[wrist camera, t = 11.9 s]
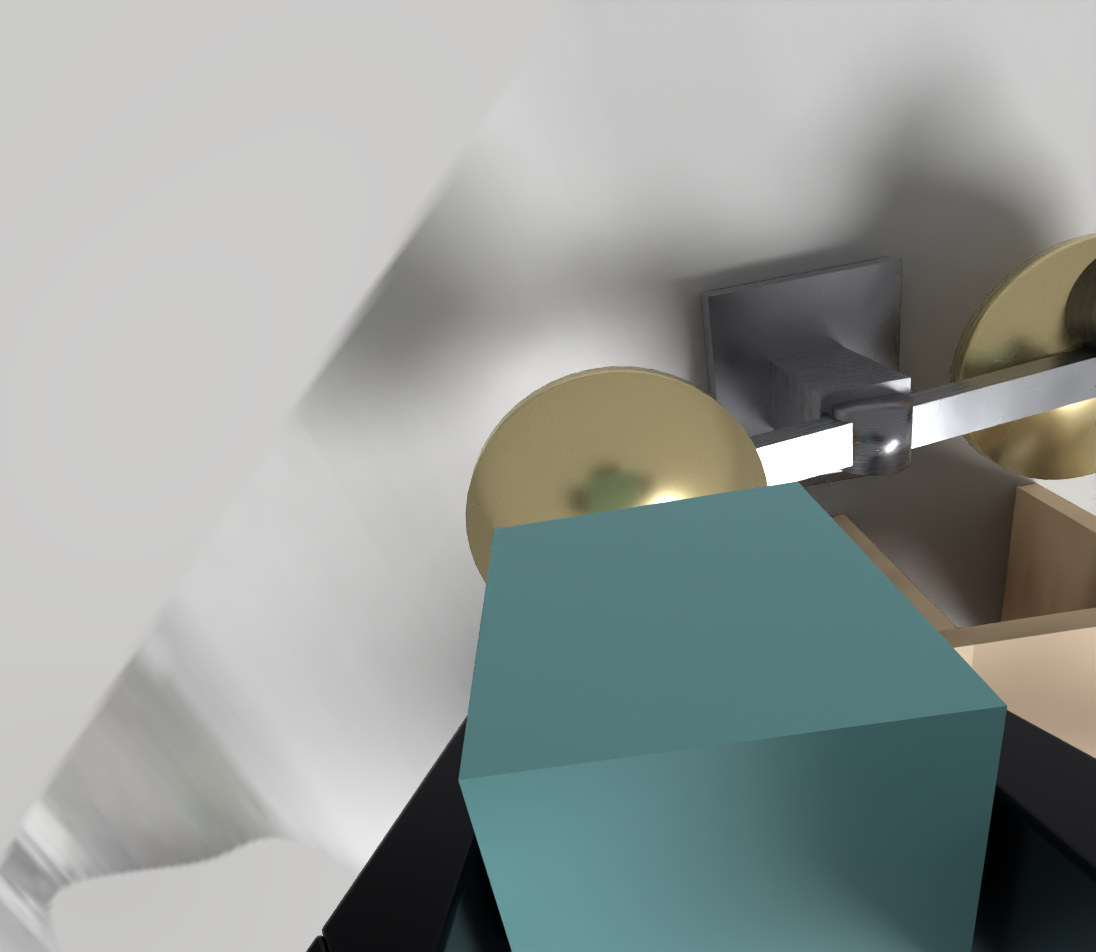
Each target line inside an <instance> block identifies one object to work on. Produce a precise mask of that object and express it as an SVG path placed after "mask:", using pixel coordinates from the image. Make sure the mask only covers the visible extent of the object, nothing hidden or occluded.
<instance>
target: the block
mask: <svg viewBox="0 0 1096 952" xmlns="http://www.w3.org/2000/svg"><path fill="white" fill-rule="evenodd" d="M1006 711H1007V705H1006V704H1005V703H1004V702H1003V700H1002V699H1001V698H1000V697H999V696H998V695H997V694H996V693H995V692H994V691H993V690H992V689H991V688H990V687H989V685H988V684H987V683H986V682H985V681H984V680H983V679H982V678H981V677H980V676H979V675H978V674H977V673H976V672H975V671H974V669H973V668H972V667H971V666H970V665H969V664H968V663H967V662H966V661H965V660H964V659H963V658H962V657H961V656H960V654H959V653H958V652H957V651H956V650H955V649H954V648H953V647H952V646H951V645H950V644H949V643H948V642H947V641H946V639H945V638H944V637H943V636H942V635H941V634H940V633H939V632H938V631H937V630H936V629H935V628H934V627H933V626H932V624H931V623H930V622H929V621H928V620H927V619H926V618H925V617H924V616H923V615H922V614H921V613H920V612H919V611H918V610H917V608H916V607H915V606H914V605H913V604H912V603H911V602H910V601H909V600H908V599H907V598H906V597H905V596H904V595H903V593H902V592H901V591H900V590H899V589H898V588H897V587H896V586H895V585H894V584H893V583H892V582H891V581H890V580H889V578H888V577H887V576H886V575H885V574H884V573H883V572H882V571H881V570H880V569H879V568H878V567H877V566H876V565H875V563H874V562H873V561H872V560H871V559H870V558H869V557H868V556H867V555H866V554H865V553H864V552H863V551H862V550H861V549H860V547H859V546H858V545H857V544H856V543H855V542H854V541H853V540H852V539H851V538H850V537H849V536H848V535H847V534H846V532H845V531H844V530H843V529H842V528H841V527H840V526H839V525H838V524H837V523H836V522H835V521H834V520H833V519H832V517H831V516H830V515H829V514H828V513H827V512H826V511H825V510H824V509H823V508H822V507H821V506H820V505H819V504H818V502H817V501H816V500H815V499H814V498H813V497H812V496H811V495H810V494H809V493H808V492H807V491H806V490H805V489H804V488H803V486H802V485H801V484H800V483H799V482H798V481H795V482H788V483H782V484H776V485H769V486H763V487H757V488H750V489H744V490H738V491H731V492H725V493H719V494H713V495H706V496H700V497H694V498H687V499H681V500H675V501H668V502H662V503H656V504H649V505H643V506H637V507H630V508H624V509H618V510H612V511H605V512H599V513H593V514H586V515H580V516H574V517H567V518H561V519H555V520H548V521H542V522H536V523H529V524H523V525H517V526H511V527H504V528H498V529H494V534H493V541H492V548H491V555H490V562H489V569H488V576H487V583H486V590H485V597H484V604H483V611H482V618H481V625H480V632H479V639H478V646H477V653H476V660H475V667H474V674H473V681H472V688H471V695H470V702H469V709H468V716H467V723H466V730H465V737H464V744H463V751H462V758H461V765H460V772H459V779H458V781H459V784H460V787H461V790H462V794H463V797H464V800H465V803H466V806H467V810H468V813H469V816H470V819H471V822H472V826H473V829H474V832H475V835H476V838H477V842H478V845H479V848H480V851H481V854H482V858H483V861H484V864H485V867H486V870H487V874H488V877H489V880H490V883H491V886H492V890H493V893H494V896H495V899H496V902H497V906H498V909H499V912H500V915H501V918H502V922H503V925H504V928H505V931H506V934H507V938H508V941H509V944H510V947H511V950H512V952H971V949H972V942H973V935H974V928H975V922H976V915H977V908H978V901H979V894H980V888H981V881H982V874H983V867H984V860H985V854H986V847H987V840H988V833H989V827H990V820H991V813H992V806H993V799H994V793H995V786H996V779H997V772H998V766H999V759H1000V752H1001V745H1002V738H1003V732H1004V725H1005V718H1006Z"/></svg>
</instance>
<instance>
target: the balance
mask: <svg viewBox="0 0 1096 952" xmlns="http://www.w3.org/2000/svg"><path fill="white" fill-rule="evenodd" d="M901 272H902V259H897V258H890V257H883V258H878V259H873V260H868V261H863V262H858V263H853V264H847V265H842V266H837V267H832V268H827V269H822V270H817V271H811V272H806V273H801V274H796V275H791V276H786V277H780V278H775V279H770V280H765V281H760V282H755V283H750V284H744V285H739V286H734V287H729V288H724V289H719V290H714V291H708V292H703V293H701V301H702V312H703V322H704V333H705V344H706V355H707V366H708V377H709V388H710V395H709V394H708V393H707V392H705V391H703V390H702V389H700V388H699V387H697V386H695V385H694V384H692V383H690V382H688V381H686V380H683V379H681V378H679V377H676V376H674V375H671V374H668V373H664V372H660V371H657V370H653V369H646V368H639V367H618V366H611V367H603V368H595V369H589V370H585V371H581V372H577V373H573V374H570V375H567V376H565V377H562V378H560V379H557V380H555V381H552V382H550V383H548V384H547V385H545V386H543V387H541V388H539V389H538V390H536V391H534V392H533V393H531V394H530V395H529V396H527V397H526V398H524V399H523V400H522V401H520V402H519V403H518V404H517V405H516V406H515V407H514V408H513V409H511V410H510V411H509V412H508V413H507V414H506V415H505V416H504V417H503V418H502V420H501V421H500V422H499V424H498V425H497V426H496V427H495V429H494V430H493V431H492V432H491V434H490V436H489V438H488V439H487V441H486V443H485V444H484V446H483V448H482V450H481V452H480V455H479V457H478V460H477V462H476V465H475V468H474V472H473V476H472V480H471V484H470V488H469V492H468V496H467V506H466V529H467V536H468V541H469V546H470V550H471V553H472V555H473V558H474V561H475V564H476V566H477V568H478V570H479V572H480V574H481V576H482V578H483V579H484V581H485V582H486V583H487V576H488V569H489V562H490V555H491V548H492V541H493V534H494V529H498V528H504V527H511V526H517V525H523V524H529V523H536V522H542V521H548V520H555V519H561V518H567V517H574V516H580V515H586V514H593V513H599V512H605V511H612V510H618V509H624V508H630V507H637V506H643V505H649V504H656V503H662V502H668V501H675V500H681V499H687V498H694V497H700V496H706V495H713V494H719V493H725V492H731V491H738V490H744V489H750V488H757V487H763V486H769V485H776V484H782V483H788V482H795V481H798V482H799V483H800V484H801V485H802V486H803V487H804V486H810V485H816V484H821V483H827V482H833V481H839V480H844V479H850V478H856V477H862V476H868V475H886V474H891V473H895V472H899V471H901V470H904V469H905V468H907V467H908V466H909V465H910V463H911V450H912V449H913V448H917V447H921V446H924V445H928V444H931V443H935V442H938V441H942V440H946V439H949V438H953V437H956V436H960V435H963V437H964V438H965V439H966V441H967V442H968V443H969V445H971V446H972V447H973V448H974V449H975V450H976V451H977V452H978V453H979V454H981V455H982V456H984V457H986V458H987V459H989V460H990V461H992V462H994V463H996V464H997V465H999V466H1001V467H1003V468H1004V469H1007V470H1009V471H1011V472H1013V473H1016V474H1019V475H1022V476H1026V477H1029V478H1036V479H1044V480H1060V479H1069V478H1076V477H1081V476H1085V475H1090V474H1093V473H1096V234H1089V235H1085V236H1081V237H1077V238H1073V239H1070V240H1067V241H1065V242H1062V243H1060V244H1057V245H1054V246H1052V247H1050V248H1048V249H1047V250H1045V251H1043V252H1041V253H1039V254H1037V255H1035V256H1034V257H1032V258H1031V259H1029V260H1028V261H1026V262H1025V263H1023V264H1022V265H1020V266H1019V267H1018V268H1017V269H1015V270H1014V271H1013V272H1012V273H1010V274H1009V275H1008V276H1007V277H1005V278H1004V279H1003V280H1002V281H1001V282H1000V283H999V284H998V285H997V286H996V287H995V288H994V289H993V290H992V291H991V293H990V294H989V295H988V296H987V297H986V299H985V300H984V301H983V302H982V303H981V305H980V306H979V308H978V309H977V311H976V312H975V314H974V315H973V317H972V318H971V320H970V321H969V323H968V325H967V327H966V329H965V331H964V333H963V334H962V337H961V339H960V342H959V344H958V347H957V349H956V352H955V356H954V360H953V363H952V367H951V375H950V383H949V384H946V385H942V386H938V387H934V388H931V389H927V390H923V391H919V392H916V393H912V394H910V387H911V377H909V376H906V375H904V374H902V373H900V372H899V342H900V307H901Z"/></svg>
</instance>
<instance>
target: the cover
mask: <svg viewBox="0 0 1096 952" xmlns="http://www.w3.org/2000/svg"><path fill="white" fill-rule="evenodd" d="M832 519H833V520H834V521H835V522H836V523H837V524H838V525H839V526H840V527H841V528H842V529H843V530H844V531H845V532H846V534H847V535H848V536H849V537H850V538H851V539H852V540H853V541H854V542H855V543H856V544H857V545H858V546H859V547H860V549H861V550H862V551H863V552H864V553H865V554H866V555H867V556H868V557H869V558H870V559H871V560H872V561H873V562H874V563H875V565H876V566H877V567H878V568H879V569H880V570H881V571H882V572H883V573H884V574H885V575H886V576H887V577H888V578H889V580H890V581H891V582H892V583H893V584H894V585H895V586H896V587H897V588H898V589H899V590H900V591H901V592H902V593H903V595H904V596H905V597H906V598H907V599H908V600H909V601H910V602H911V603H912V604H913V605H914V606H915V607H916V608H917V610H918V611H919V612H920V613H921V614H922V615H923V616H924V617H925V618H926V619H927V620H928V621H929V622H930V623H931V624H932V626H933V627H934V628H935V629H936V630H937V631H938V632H939V633H940V634H941V635H942V636H943V637H944V638H945V639H946V641H947V642H948V643H949V644H950V645H951V646H952V647H953V648H954V649H955V650H956V651H957V652H958V653H959V654H960V656H961V657H962V658H963V659H964V660H965V661H966V662H967V663H968V664H969V665H970V666H971V667H972V668H973V669H974V671H975V672H976V673H977V674H978V675H979V676H980V677H981V678H982V679H983V680H984V681H985V682H986V683H987V684H988V685H989V687H990V688H991V689H992V690H993V691H994V692H995V693H996V694H997V695H998V696H999V697H1000V698H1001V699H1002V700H1003V702H1004V703H1005V704H1006V705H1007V710H1008V711H1010V712H1012V713H1014V714H1016V715H1018V716H1019V717H1021V718H1023V719H1025V720H1027V721H1029V722H1030V723H1032V724H1034V725H1036V726H1038V727H1040V728H1041V729H1043V730H1045V731H1047V732H1049V733H1051V734H1052V735H1054V736H1056V737H1058V738H1060V739H1062V740H1063V741H1065V742H1067V743H1069V744H1071V745H1072V746H1074V747H1076V748H1078V749H1080V750H1082V751H1083V752H1085V753H1087V754H1089V755H1091V756H1093V757H1094V758H1096V516H1094V515H1093V514H1091V513H1089V512H1087V511H1085V510H1084V509H1082V508H1080V507H1078V506H1076V505H1075V504H1073V503H1071V502H1069V501H1068V500H1066V499H1064V498H1062V497H1060V496H1059V495H1057V494H1055V493H1053V492H1051V491H1050V490H1048V489H1046V488H1044V487H1042V486H1041V485H1039V484H1037V483H1036V484H1029V485H1023V486H1017V490H1016V498H1015V506H1014V515H1013V523H1012V532H1011V540H1010V548H1009V557H1008V565H1007V574H1006V582H1005V590H1004V599H1003V607H1002V616H1001V622H997V623H990V624H984V625H977V626H970V627H964V628H957V627H956V626H955V625H954V624H953V623H952V622H951V621H950V620H949V619H948V618H947V617H946V616H945V615H944V614H943V613H942V612H941V611H940V610H939V609H938V608H937V607H936V606H935V605H934V604H933V603H932V602H931V601H930V600H929V599H928V598H927V597H926V596H925V595H924V594H923V593H922V592H921V591H920V590H919V589H918V588H917V587H916V586H915V585H914V584H913V583H912V582H911V581H910V580H909V579H908V578H907V577H906V575H905V574H904V573H903V572H902V571H901V570H900V569H899V568H898V567H897V566H896V565H895V564H894V563H893V562H892V561H891V560H890V559H889V558H888V557H887V556H886V555H885V554H884V553H883V552H882V551H881V550H880V549H879V548H878V547H877V546H876V545H875V544H874V543H873V542H872V541H871V540H870V539H869V538H868V537H867V536H866V535H865V534H864V533H863V532H862V531H861V530H860V529H859V528H858V527H857V526H856V525H855V524H854V523H853V522H852V521H851V520H850V519H849V518H848V517H847V516H846V515H840V516H833V517H832Z"/></svg>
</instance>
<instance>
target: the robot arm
mask: <svg viewBox="0 0 1096 952" xmlns="http://www.w3.org/2000/svg"><path fill="white" fill-rule="evenodd" d="M467 716H468V715H467ZM466 723H467V717H466V718H465V719H464V721H463V722H462V724H461V725H460V727H459V728H458V730H457V731H456V733H455V734H454V736H453V737H452V739H451V740H450V742H449V743H448V744H447V746H446V747H445V749H444V750H443V752H442V753H441V755H440V756H439V758H438V759H437V761H436V762H435V764H434V765H433V767H432V768H431V769H430V771H429V772H428V774H427V775H426V777H425V778H424V780H423V781H422V783H421V784H420V786H419V787H418V789H417V790H416V792H415V793H414V794H413V796H412V797H411V799H410V800H409V802H408V803H407V805H406V806H405V808H404V809H403V811H402V812H401V814H400V815H399V817H398V818H397V819H396V821H395V822H394V824H393V825H392V827H391V828H390V830H389V831H388V833H387V834H386V836H385V837H384V839H383V840H382V842H381V843H380V844H379V846H378V847H377V849H376V850H375V852H374V853H373V855H372V856H371V858H370V859H369V861H368V862H367V864H366V865H365V867H364V868H363V869H362V871H361V872H360V874H359V875H358V877H357V878H356V880H355V881H354V883H353V884H352V886H351V887H350V889H349V890H348V892H347V893H346V894H345V896H344V898H343V899H342V900H341V902H340V903H339V905H338V906H337V908H336V909H335V911H334V912H333V914H332V915H331V917H330V918H329V920H328V921H327V922H326V924H325V925H324V927H323V929H322V934H323V936H317V937H316V938H315V940H314V941H313V942H312V944H311V946H310V947H309V948H308V950H307V951H306V952H512V950H511V947H510V944H509V941H508V938H507V934H506V931H505V928H504V925H503V922H502V918H501V915H500V912H499V909H498V906H497V902H496V899H495V896H494V893H493V890H492V886H491V883H490V880H489V877H488V874H487V870H486V867H485V864H484V861H483V858H482V854H481V851H480V848H479V845H478V842H477V838H476V835H475V832H474V829H473V826H472V822H471V819H470V816H469V813H468V810H467V806H466V803H465V800H464V797H463V794H462V790H461V787H460V784H459V781H458V779H459V772H460V765H461V758H462V751H463V744H464V737H465V730H466ZM971 952H1096V758H1094V757H1093V756H1091V755H1089V754H1087V753H1085V752H1083V751H1082V750H1080V749H1078V748H1076V747H1074V746H1072V745H1071V744H1069V743H1067V742H1065V741H1063V740H1062V739H1060V738H1058V737H1056V736H1054V735H1052V734H1051V733H1049V732H1047V731H1045V730H1043V729H1041V728H1040V727H1038V726H1036V725H1034V724H1032V723H1030V722H1029V721H1027V720H1025V719H1023V718H1021V717H1019V716H1018V715H1016V714H1014V713H1012V712H1010V711H1008V710H1007V711H1006V718H1005V725H1004V732H1003V738H1002V745H1001V752H1000V759H999V766H998V772H997V779H996V786H995V793H994V799H993V806H992V813H991V820H990V827H989V833H988V840H987V847H986V854H985V860H984V867H983V874H982V881H981V888H980V894H979V901H978V908H977V915H976V922H975V928H974V935H973V942H972V949H971Z"/></svg>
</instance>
